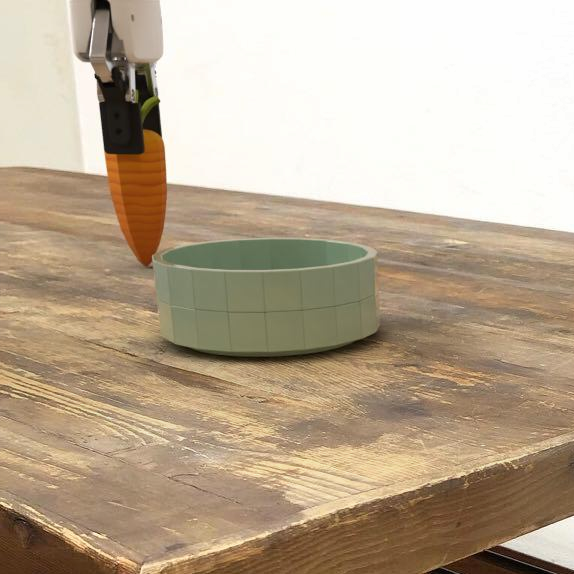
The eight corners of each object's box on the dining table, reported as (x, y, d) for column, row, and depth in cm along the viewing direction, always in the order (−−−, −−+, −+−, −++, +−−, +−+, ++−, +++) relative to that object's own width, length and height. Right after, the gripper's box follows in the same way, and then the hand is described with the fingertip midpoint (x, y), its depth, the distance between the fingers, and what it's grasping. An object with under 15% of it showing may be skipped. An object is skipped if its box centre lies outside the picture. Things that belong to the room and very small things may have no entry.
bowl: (134, 361, 76) (123, 270, 74) (191, 314, 89) (184, 236, 87) (366, 362, 76) (362, 272, 74) (389, 316, 89) (386, 238, 87)
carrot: (139, 260, 111) (121, 82, 105) (187, 264, 109) (171, 83, 104) (104, 268, 106) (83, 83, 101) (153, 272, 105) (134, 84, 99)
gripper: (97, -79, 105) (120, 144, 112) (22, -103, 90) (54, 158, 96) (185, -78, 106) (203, 145, 112) (126, -102, 90) (151, 160, 96)
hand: (134, 149), depth 104 cm, fingers closed on carrot, 4 cm apart
